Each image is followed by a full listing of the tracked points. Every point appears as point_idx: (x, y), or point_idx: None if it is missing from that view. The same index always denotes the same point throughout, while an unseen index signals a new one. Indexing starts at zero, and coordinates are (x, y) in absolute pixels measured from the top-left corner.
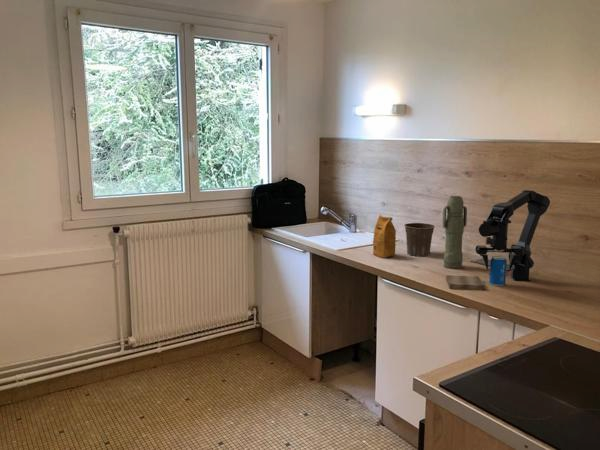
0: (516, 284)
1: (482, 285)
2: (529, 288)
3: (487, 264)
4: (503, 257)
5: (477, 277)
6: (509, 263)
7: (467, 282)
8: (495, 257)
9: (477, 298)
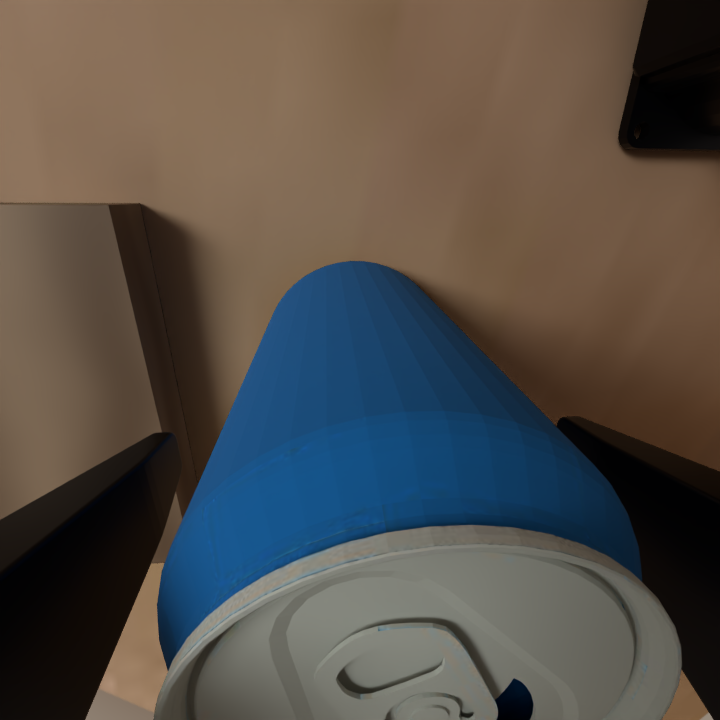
0: (559, 307)
1: None
2: (616, 420)
3: (122, 599)
4: (645, 623)
5: (97, 273)
6: (656, 501)
7: (2, 504)
8: (325, 627)
9: (154, 679)
